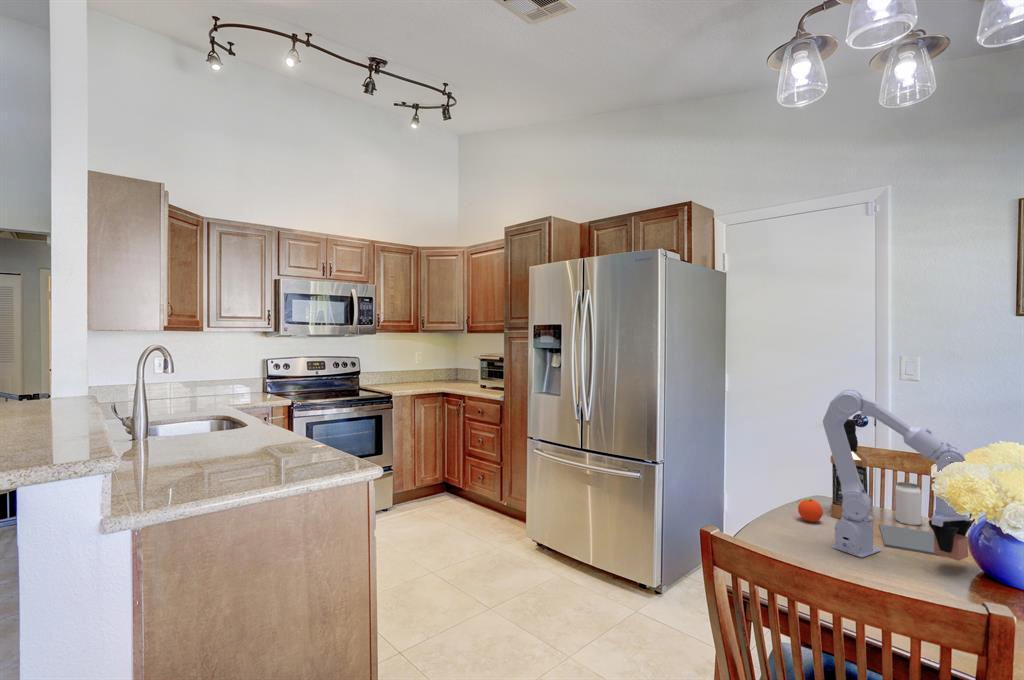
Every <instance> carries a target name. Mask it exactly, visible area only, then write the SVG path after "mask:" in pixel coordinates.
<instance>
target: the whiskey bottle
mask: <svg viewBox="0 0 1024 680" xmlns="http://www.w3.org/2000/svg"><path fill="white" fill-rule="evenodd" d="M856 422H857V421H856V420H855V419H852V418H848V420H847V421H846V422H845V423H844V429H845V432H846V435H847V439H848V442H849V445H850V449H851V452H852V455H853V459H854V462H855V465H856V468H857V472H858V475H859V478H860V481H861V483H862V485H863V487H864V490H865V492H866V493H867V494H868V495H869V492H868V470H867V469H868V466H869V456H868V455H866V454H864V453H863V452H861V451H860V450H858V445H859V442H858V436H857V433H856V431H857V427H856V426H857V423H856ZM830 463H831V464H832V472H831V473H832V502H831V505H830V507H831V508H830V516H831V517H832V518H836V519H841V517H842V511H843V509H842V503H843V496H842V490H841V483H840V479H839V476H838V472H837V469H836V466H835V462H834V459H833V456H832V454H831V456H830ZM869 514H870V515H871V512H870V513H869Z"/></svg>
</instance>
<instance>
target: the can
mask: <svg viewBox="0 0 1024 680" xmlns="http://www.w3.org/2000/svg"><path fill="white" fill-rule="evenodd" d="M894 494H895V495H894V496H895V498H894V499H895V520H896V521H897V522H898V523H900V524H903V525H907V526H915V527H916V526H917V527H918V526H920V525H922V522H923V521H922V490H921V488H920V485H918V484H915V483H911V482H904V481H902V482H901V481H900V482H896V486H895V493H894Z"/></svg>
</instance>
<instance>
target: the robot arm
mask: <svg viewBox="0 0 1024 680" xmlns="http://www.w3.org/2000/svg"><path fill="white" fill-rule="evenodd" d="M858 412H860V413H859V416H860V417H861V416H862V417H872V418H874V419H875V420H877V421H879V422H880V423H882V424H883V425H885V426H887V427H889V428H890V429H892V430H893V431H895V432H896V433H898V434H900V435H901V436H902V437H903V442H904V443H903V444H904V445H907V446H908V447H910V448H912V449H913V450H914V451H916V452H917V453H918V454H920V455H922V456H923V457H925V458H926V459H928V460H929V461H934V462H935V465H936V473H937V472H939V471H940V470H941V471H942V469H943V468H944V467H946V466H947V465H949V464H951V463H954V462H963V461H966V458H965V456H964V454H963V453H962V452H961V451H960V450H959V449H958V448H957V447H955V446H952V444H951V443H950V442H949V441H947V442H945V441H943V439H941V438H939V437H938V436H935V435H934V434H933V431H932V430H931V429H930V428H923V427H922V426H911V425H909V424H908V423H907V422H906V421H904V420H903V419H901V418H899V417H898V416H897V415H896V414H894V413H892V411H890V410H888V409H887V408H885V407H884V406H883V405H882V404H880V403H878V402H877V401H875V400H873V399H872V398H870V397H868V396H865V395H862V394H861V393H860V392H858V391H857V390H854V389H844V390H842V391H840V392H839V393H838V394H837V395H836V396H835V397H834V398H833V399H832V400H831V401H830V402H829V405H828V407H827V410H826V413H825V415H824V417H823V420H822V425H823V428H824V431H825V432H824V433H825V435H826V438H827V441H828V445H829V448H830V452H831V455H832V456H833V459H834V462H835V466H836V469H837V472H838V476H839V479H840V483H841V490H842V496H843V503H842V509H843V511H842V517H841V518H840V520H838V521H837V522H836V523H835V525H834V544H833V545H831V548H833V549H836V550H839V551H842V552H845V553H847V554H850V555H853V556H856V557H858V558H865V557H868V556H870V555H874V554H876V553H879V552H881V549H880V548H879V547H875V546H874V517H873V516H872V515H871V508H872V504H873V500H872V498H871V496H870V495H869V493H868V494H867V493H866V492H865V490H864V487H863V485H862V483H861V481H860V478H859V475H858V472H857V468H856V465H855V462H854V459H853V455H852V452H851V449H850V445H849V442H848V439H847V435H846V432H845V429H844V423H845V422H846V421H847V420H848V419H850V417H852V416H854V415H856V414H857V413H858ZM948 457H950V458H948ZM946 458H947V459H946ZM869 513H870V514H869ZM969 517H970V516H969ZM969 517H968V516H967V515H960V514H958V513H956V511H955V510H954V508H952V507H950V506H948V504H947V503H946V502H945V501H944V500H943V499H941V498H939V497H937V496H936V495H935V509H934V513H933V515H932V516H931V519H930V520H928V525H929V527H930V529H931V530H932V531H933V532H934V534H935V536H936V539H937V542H938V546H939V549H940V550H941V551H944V552H948V553H951V551H952V548H953V541H954V537H955V534H959V535H963V536H966V537H967V533H968V532H969V530H970V528H971V527H972V525H971V522H970V521H971V520H970V519H969Z"/></svg>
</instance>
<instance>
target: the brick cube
mask: <svg viewBox="0 0 1024 680" xmlns="http://www.w3.org/2000/svg"><path fill="white" fill-rule="evenodd" d="M934 553H935V554H938V555H937V556H939V555H941V556H940V557H944V558H948V559H952V560H955V561H957V562H959V561H961V560H963V559H966V558H968V557H969V537H968V536H967V535H966V536H963V535H959V534H955V537H954V541H953V548H952V551H951V553H948V552H944V551H941V550H940V549H939V546H938V542H937V539H936V536H935V534H934Z"/></svg>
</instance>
